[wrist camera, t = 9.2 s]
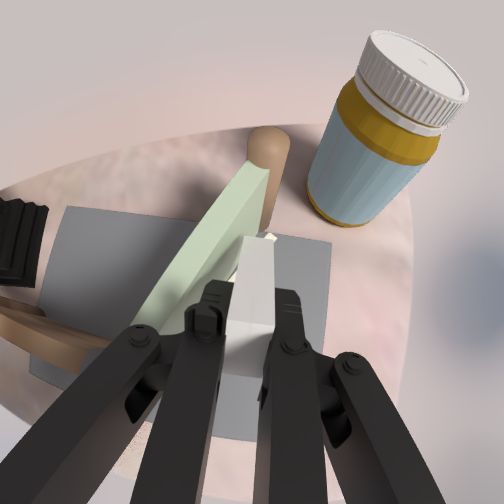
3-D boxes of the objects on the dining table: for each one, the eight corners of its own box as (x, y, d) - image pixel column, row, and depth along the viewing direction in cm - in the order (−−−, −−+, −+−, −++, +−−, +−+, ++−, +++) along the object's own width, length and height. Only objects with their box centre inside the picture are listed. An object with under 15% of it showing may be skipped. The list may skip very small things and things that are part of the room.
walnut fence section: (27, 330, 18) (-55, 311, 8) (31, 304, 18) (-49, 276, 9) (180, 382, 18) (129, 415, 8) (185, 350, 19) (136, 356, 9)
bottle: (330, 243, 22) (436, 111, 8) (290, 175, 24) (334, 22, 10) (389, 214, 23) (491, 106, 9) (349, 155, 25) (413, 32, 11)
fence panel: (187, 353, 18) (144, 361, 9) (163, 337, 18) (105, 330, 9) (274, 216, 21) (297, 137, 13) (251, 203, 21) (261, 120, 13)
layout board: (31, 372, 17) (28, 372, 16) (69, 207, 22) (66, 205, 22) (305, 443, 17) (307, 445, 17) (330, 244, 22) (332, 242, 22)
